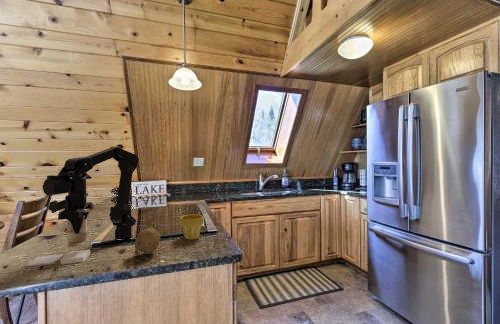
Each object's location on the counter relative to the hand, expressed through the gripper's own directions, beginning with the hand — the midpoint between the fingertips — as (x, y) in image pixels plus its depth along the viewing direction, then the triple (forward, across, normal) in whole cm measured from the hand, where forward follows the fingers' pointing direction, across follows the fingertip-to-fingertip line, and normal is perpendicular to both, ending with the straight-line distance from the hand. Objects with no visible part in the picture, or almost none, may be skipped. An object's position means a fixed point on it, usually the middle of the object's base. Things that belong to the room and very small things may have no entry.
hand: (78, 232), depth 95 cm
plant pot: (+9, -10, +43) cm, 45 cm away
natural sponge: (+9, +6, +25) cm, 27 cm away
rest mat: (+9, +1, -10) cm, 13 cm away
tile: (+8, -2, 0) cm, 9 cm away
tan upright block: (+4, 0, 0) cm, 4 cm away
